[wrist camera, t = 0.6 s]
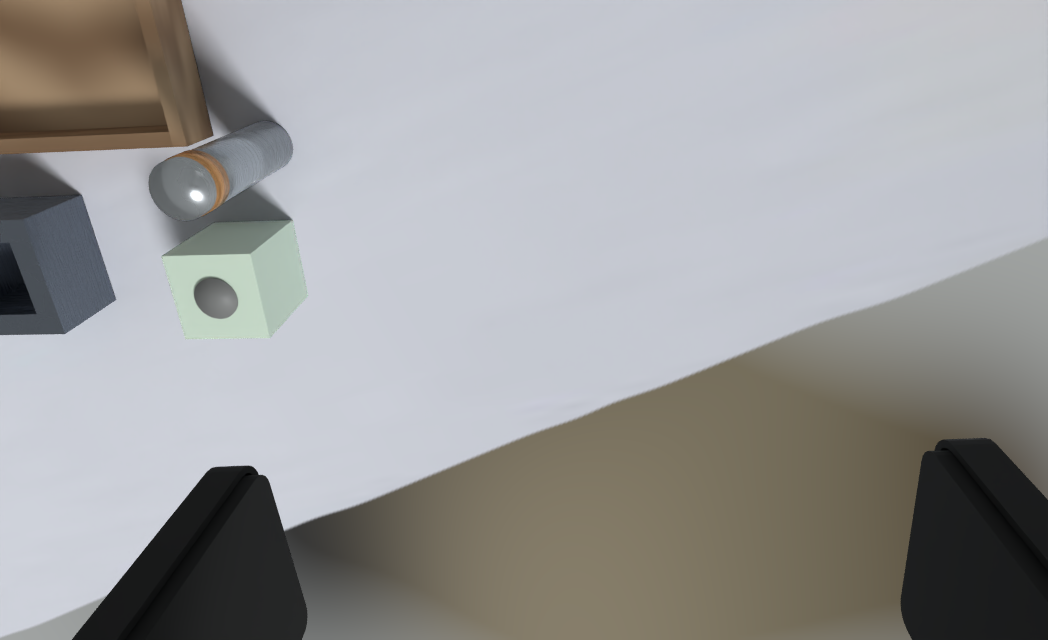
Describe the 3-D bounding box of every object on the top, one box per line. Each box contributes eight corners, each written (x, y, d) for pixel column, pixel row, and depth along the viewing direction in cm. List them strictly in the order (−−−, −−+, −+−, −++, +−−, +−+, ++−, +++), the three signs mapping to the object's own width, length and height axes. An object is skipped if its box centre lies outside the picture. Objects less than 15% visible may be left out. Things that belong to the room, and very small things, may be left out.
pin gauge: (239, 121, 41) (139, 160, 32) (288, 118, 40) (201, 157, 31) (250, 171, 42) (157, 222, 33) (298, 169, 42) (217, 221, 33)
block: (-24, 198, 44) (-94, 223, 40) (81, 195, 43) (22, 219, 39) (17, 301, 47) (-44, 335, 43) (115, 299, 46) (65, 334, 42)
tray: (-145, -94, 37) (-201, -100, 35) (152, -119, 36) (117, -127, 33) (-49, 147, 43) (-92, 158, 40) (213, 135, 41) (186, 146, 38)
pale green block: (214, 222, 43) (159, 257, 38) (293, 219, 43) (248, 254, 37) (233, 296, 46) (184, 340, 40) (308, 295, 45) (268, 339, 40)
